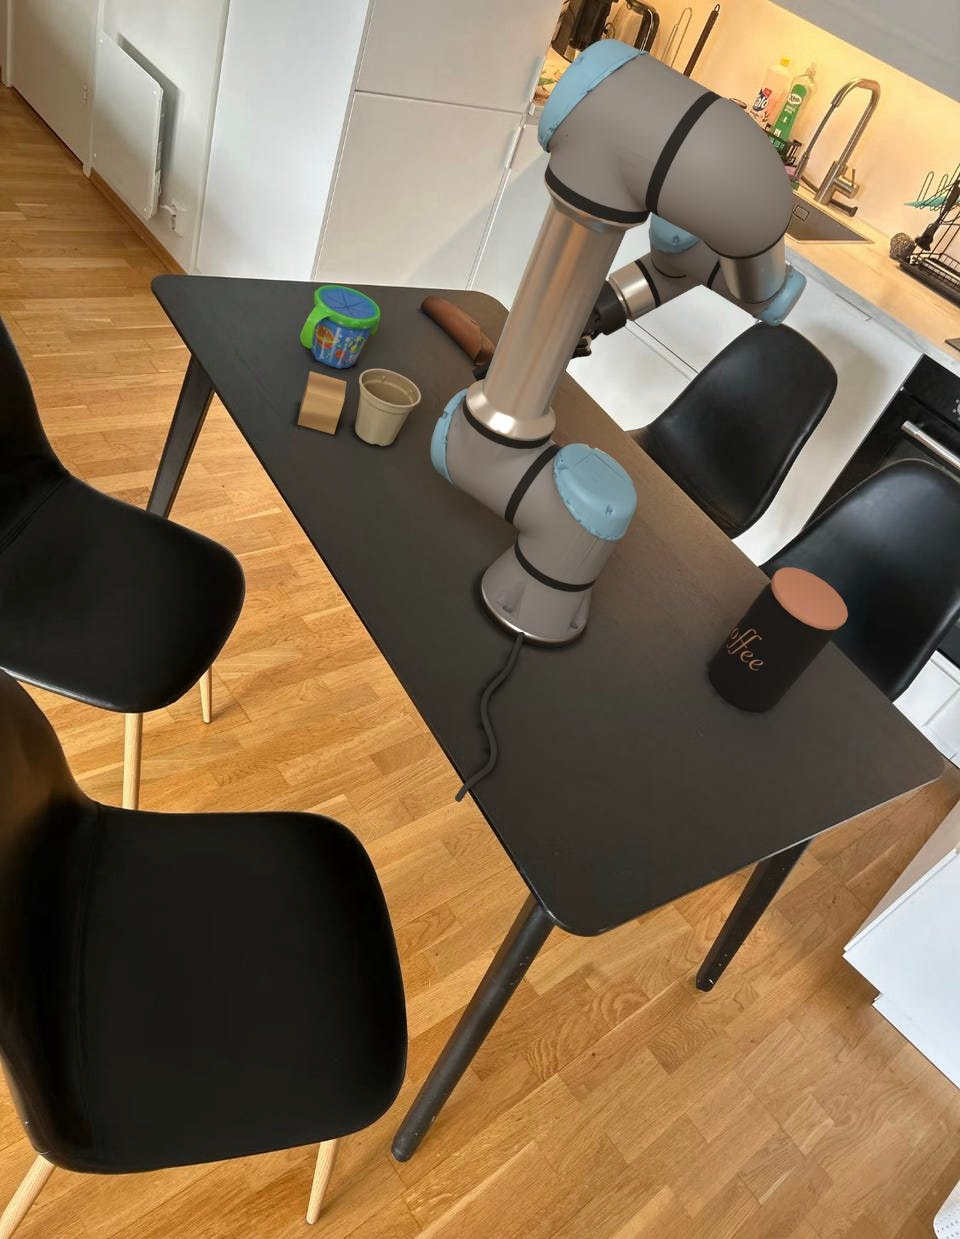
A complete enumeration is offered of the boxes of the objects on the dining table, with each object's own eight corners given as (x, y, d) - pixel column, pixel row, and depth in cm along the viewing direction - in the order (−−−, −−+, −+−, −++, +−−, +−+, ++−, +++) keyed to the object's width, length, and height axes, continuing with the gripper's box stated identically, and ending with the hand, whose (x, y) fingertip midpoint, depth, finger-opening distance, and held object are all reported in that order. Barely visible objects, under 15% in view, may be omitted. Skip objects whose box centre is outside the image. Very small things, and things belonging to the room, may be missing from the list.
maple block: (334, 434, 145) (344, 401, 142) (297, 424, 144) (306, 390, 140) (336, 414, 149) (346, 381, 146) (300, 404, 148) (310, 370, 144)
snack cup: (349, 335, 168) (365, 281, 162) (387, 370, 164) (405, 316, 158) (275, 344, 158) (289, 286, 151) (313, 381, 154) (329, 324, 147)
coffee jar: (700, 649, 140) (767, 557, 128) (766, 669, 142) (837, 580, 130) (710, 704, 132) (782, 611, 120) (780, 724, 134) (857, 635, 122)
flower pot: (410, 431, 153) (427, 385, 148) (396, 461, 146) (413, 414, 141) (353, 408, 152) (368, 360, 147) (337, 437, 145) (352, 388, 140)
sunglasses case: (508, 361, 181) (505, 334, 175) (477, 380, 179) (474, 353, 173) (452, 307, 188) (448, 280, 183) (422, 325, 187) (417, 298, 181)
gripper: (641, 343, 142) (498, 422, 145) (608, 297, 150) (474, 373, 154) (627, 303, 136) (478, 387, 140) (593, 258, 145) (454, 338, 148)
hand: (476, 379), depth 147 cm, fingers closed
